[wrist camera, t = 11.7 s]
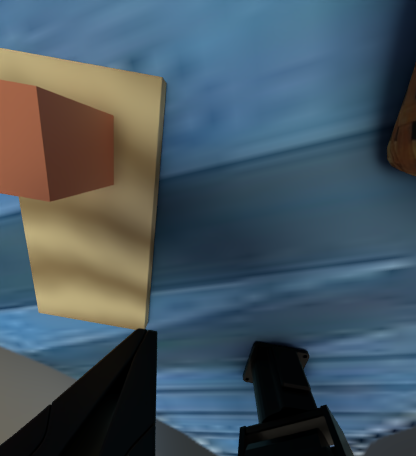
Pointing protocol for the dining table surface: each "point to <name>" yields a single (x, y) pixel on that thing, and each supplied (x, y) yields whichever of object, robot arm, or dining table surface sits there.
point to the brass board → (98, 198)
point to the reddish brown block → (52, 144)
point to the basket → (405, 133)
